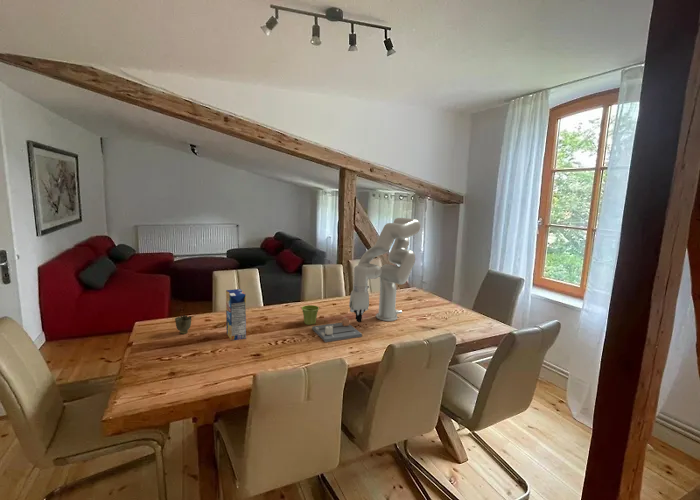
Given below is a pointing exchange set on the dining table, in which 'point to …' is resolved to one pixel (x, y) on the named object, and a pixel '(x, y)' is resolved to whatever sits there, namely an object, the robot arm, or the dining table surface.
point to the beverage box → (236, 314)
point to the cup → (183, 323)
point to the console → (337, 332)
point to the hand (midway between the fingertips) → (358, 321)
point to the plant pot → (310, 314)
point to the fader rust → (345, 321)
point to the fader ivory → (328, 330)
